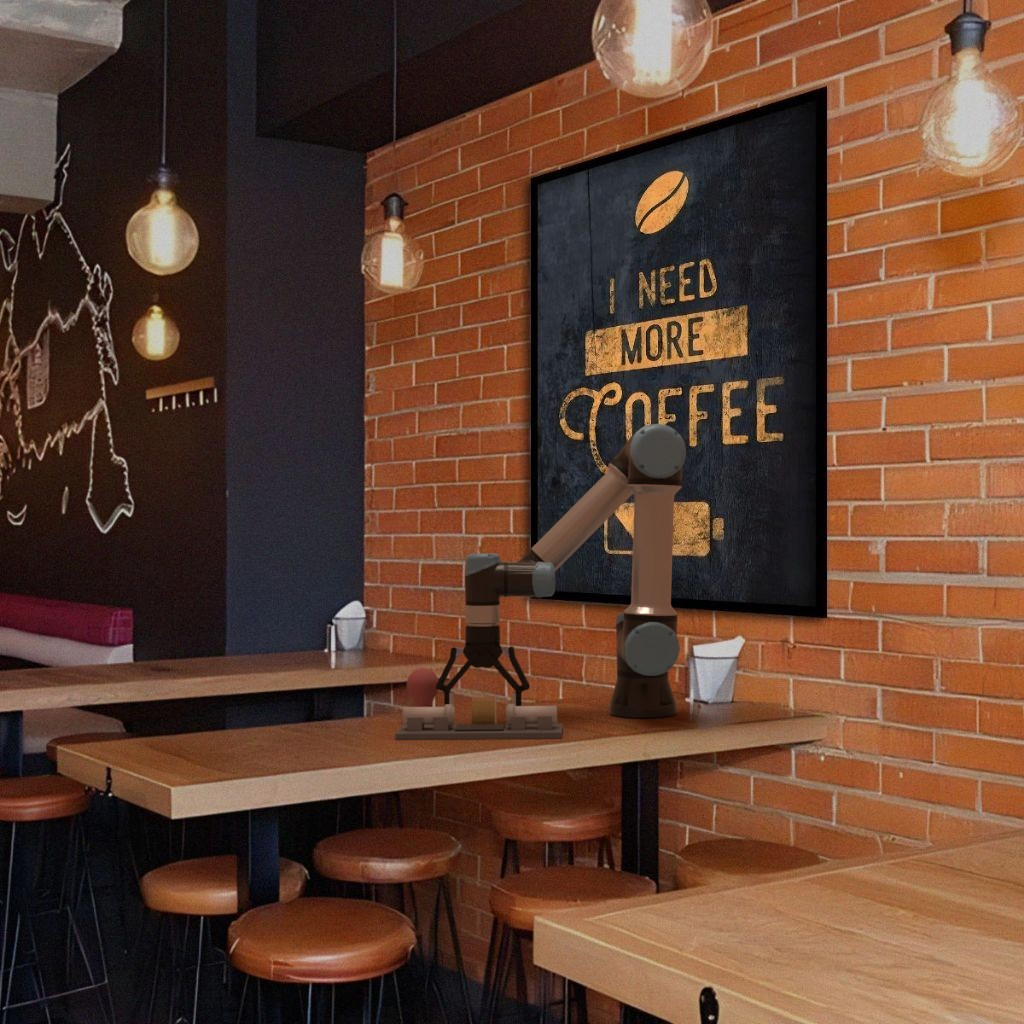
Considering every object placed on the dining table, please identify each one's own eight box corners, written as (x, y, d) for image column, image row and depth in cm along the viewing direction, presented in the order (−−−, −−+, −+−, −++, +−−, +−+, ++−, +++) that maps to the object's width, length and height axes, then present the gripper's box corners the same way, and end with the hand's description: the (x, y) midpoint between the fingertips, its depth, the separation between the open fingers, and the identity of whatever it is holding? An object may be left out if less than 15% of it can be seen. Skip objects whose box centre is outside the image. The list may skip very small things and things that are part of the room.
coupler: (496, 724, 292) (496, 696, 292) (494, 728, 286) (494, 700, 286) (474, 724, 292) (473, 697, 292) (471, 728, 286) (471, 700, 286)
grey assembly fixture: (562, 729, 283) (562, 699, 283) (561, 738, 271) (561, 707, 271) (403, 730, 285) (402, 700, 285) (395, 739, 273) (394, 708, 273)
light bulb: (441, 719, 299) (440, 666, 299) (436, 724, 292) (435, 669, 292) (410, 719, 299) (409, 666, 299) (404, 724, 292) (403, 670, 292)
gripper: (540, 623, 292) (541, 720, 292) (427, 623, 293) (427, 719, 293) (539, 625, 284) (540, 725, 284) (423, 625, 286) (423, 725, 286)
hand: (483, 722), depth 289 cm, fingers open, 13 cm apart
